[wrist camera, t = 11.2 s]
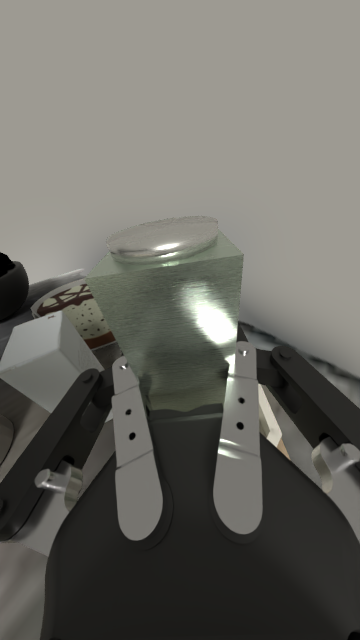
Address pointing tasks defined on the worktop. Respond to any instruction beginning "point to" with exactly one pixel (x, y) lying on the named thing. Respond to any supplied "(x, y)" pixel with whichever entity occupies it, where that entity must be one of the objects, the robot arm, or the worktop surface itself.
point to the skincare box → (46, 359)
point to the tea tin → (173, 307)
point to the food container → (77, 312)
